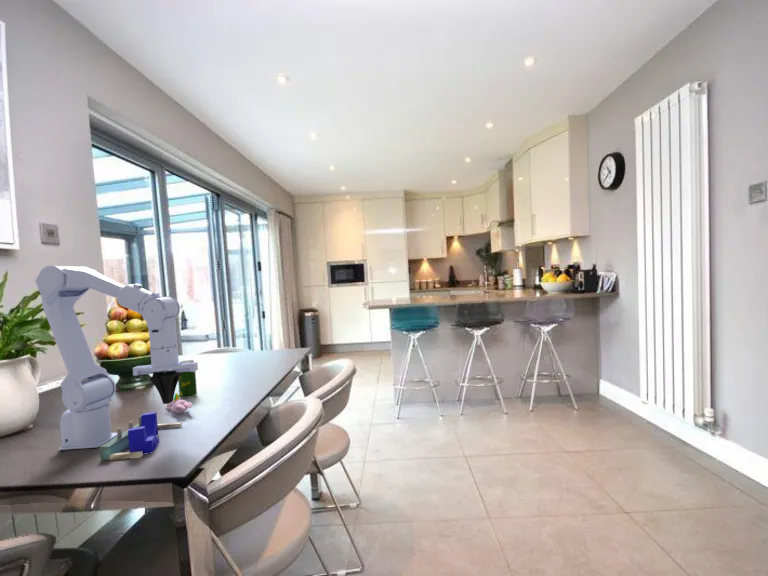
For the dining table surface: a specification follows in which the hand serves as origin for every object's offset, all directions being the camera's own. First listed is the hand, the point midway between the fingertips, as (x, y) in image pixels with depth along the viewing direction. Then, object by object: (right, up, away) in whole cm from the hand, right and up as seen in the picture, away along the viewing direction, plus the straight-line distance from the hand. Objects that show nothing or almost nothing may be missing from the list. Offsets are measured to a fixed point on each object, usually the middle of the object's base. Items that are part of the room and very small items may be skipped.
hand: (168, 402), depth 92 cm
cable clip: (-4, -10, -1) cm, 11 cm away
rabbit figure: (-8, -10, +21) cm, 25 cm away
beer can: (-14, -9, +37) cm, 41 cm away
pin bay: (-5, -10, 0) cm, 11 cm away
